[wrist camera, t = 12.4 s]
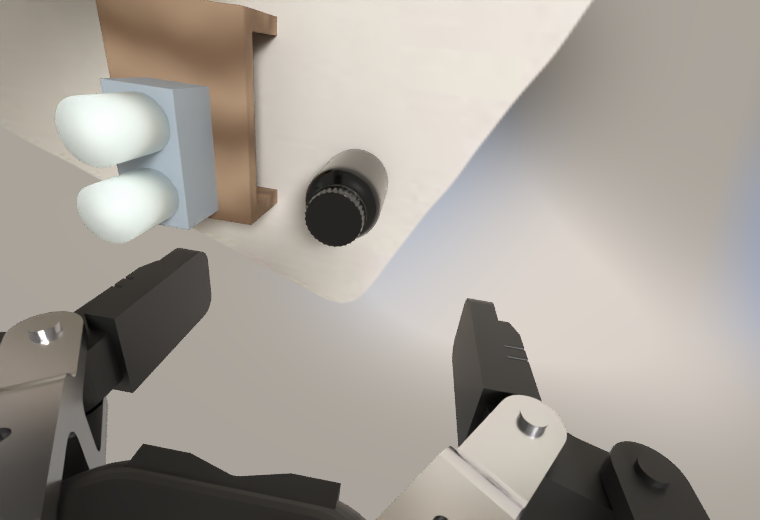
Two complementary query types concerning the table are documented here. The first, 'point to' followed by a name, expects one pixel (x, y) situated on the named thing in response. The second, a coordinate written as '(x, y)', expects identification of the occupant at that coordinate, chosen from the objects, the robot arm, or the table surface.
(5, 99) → the table surface
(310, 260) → the table surface
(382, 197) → the supplement bottle
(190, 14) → the walnut shelf
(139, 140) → the salt and pepper set
